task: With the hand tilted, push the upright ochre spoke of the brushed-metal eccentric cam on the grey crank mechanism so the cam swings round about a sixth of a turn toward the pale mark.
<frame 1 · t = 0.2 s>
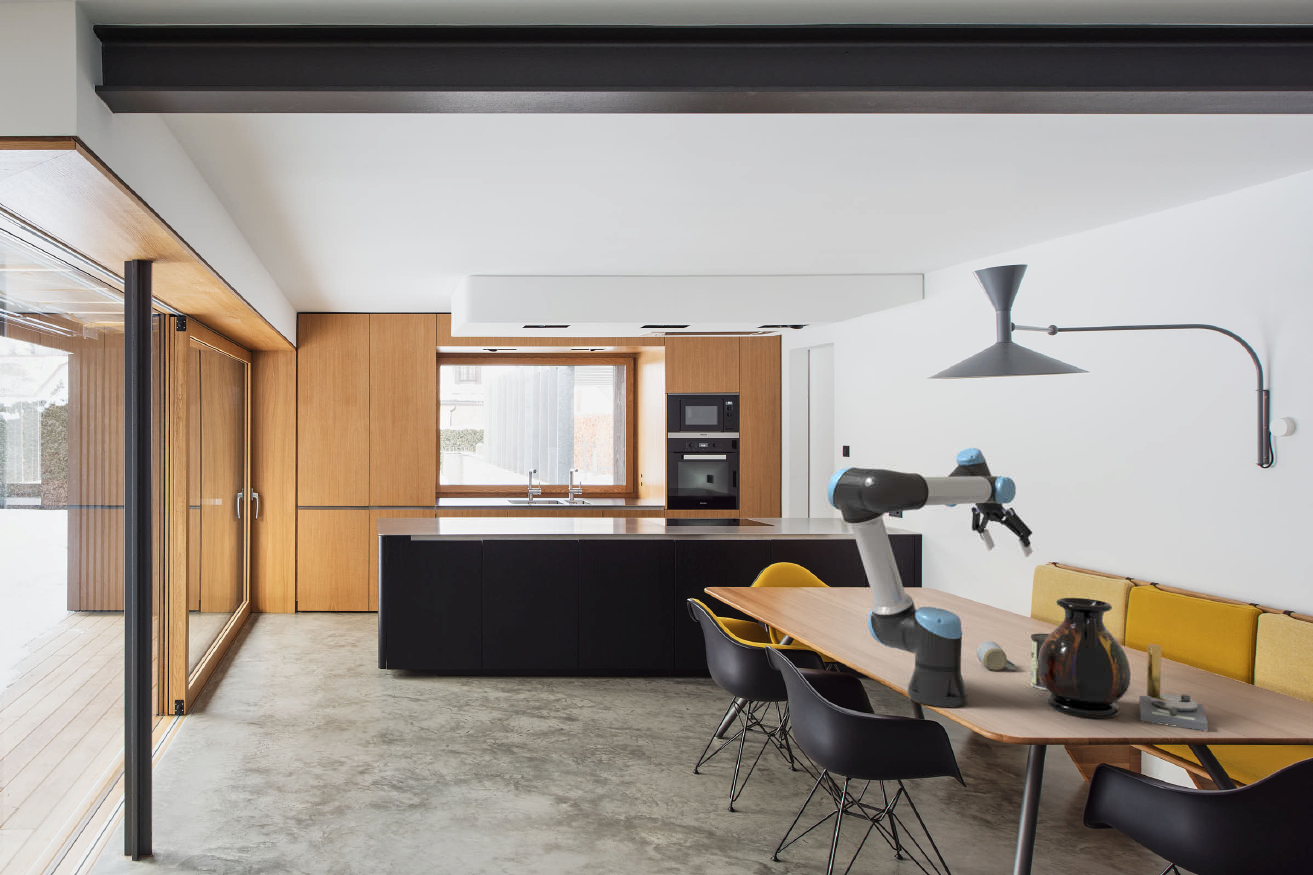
hand: (1009, 551, 257), 36 cm above the table, tool tilted 35°, fingers open, 13 cm apart
ceramic mug: (996, 669, 254), on the table
grey crank mechanism: (1171, 716, 210), on the table
coffee can: (1049, 687, 235), on the table
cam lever: (1172, 676, 213), point 10 cm above the table, hinge at 0.0°
brown glazed vase: (1082, 710, 214), on the table
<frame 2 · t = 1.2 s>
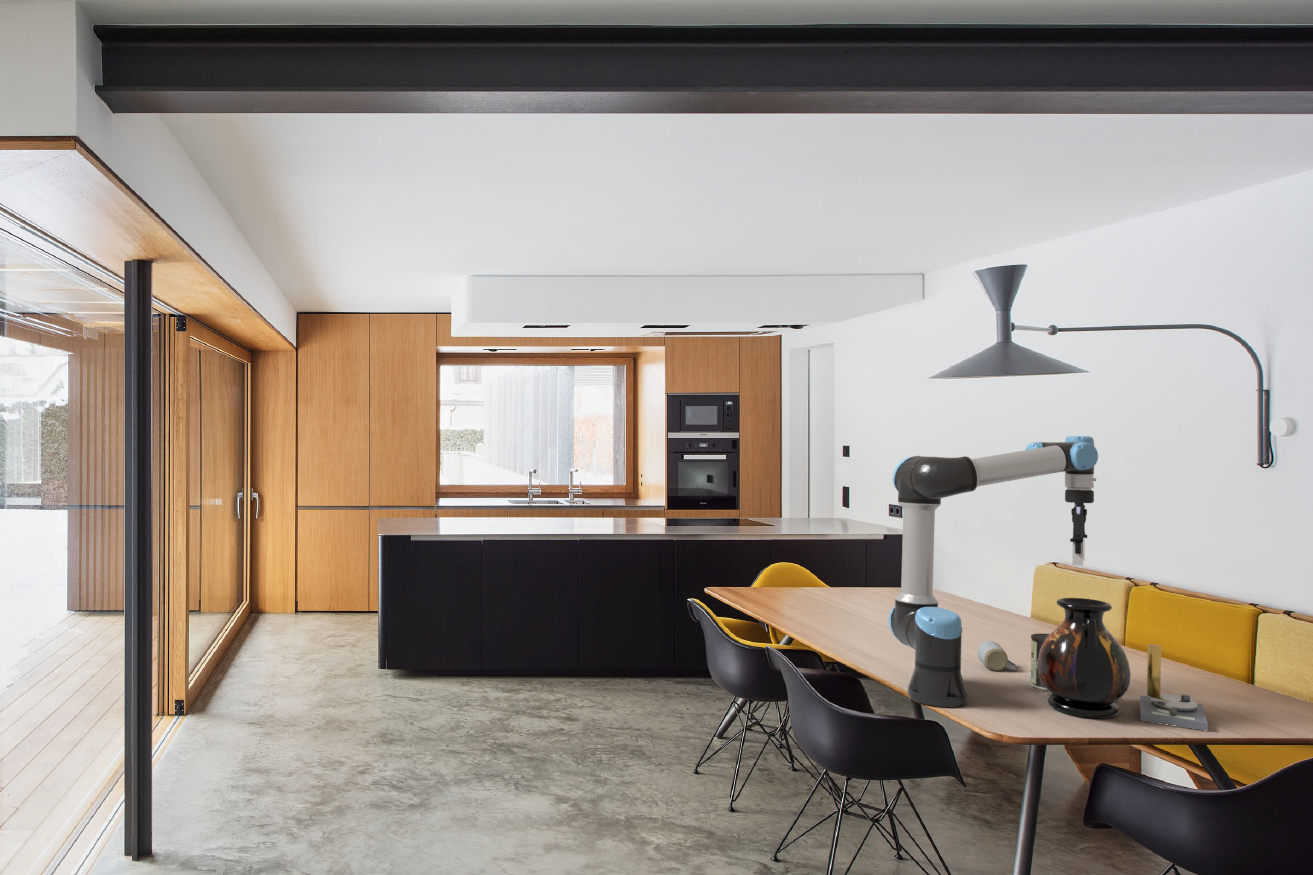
hand: (1078, 562, 241), 35 cm above the table, tool pointing down, fingers open, 12 cm apart
nothing on the table moved.
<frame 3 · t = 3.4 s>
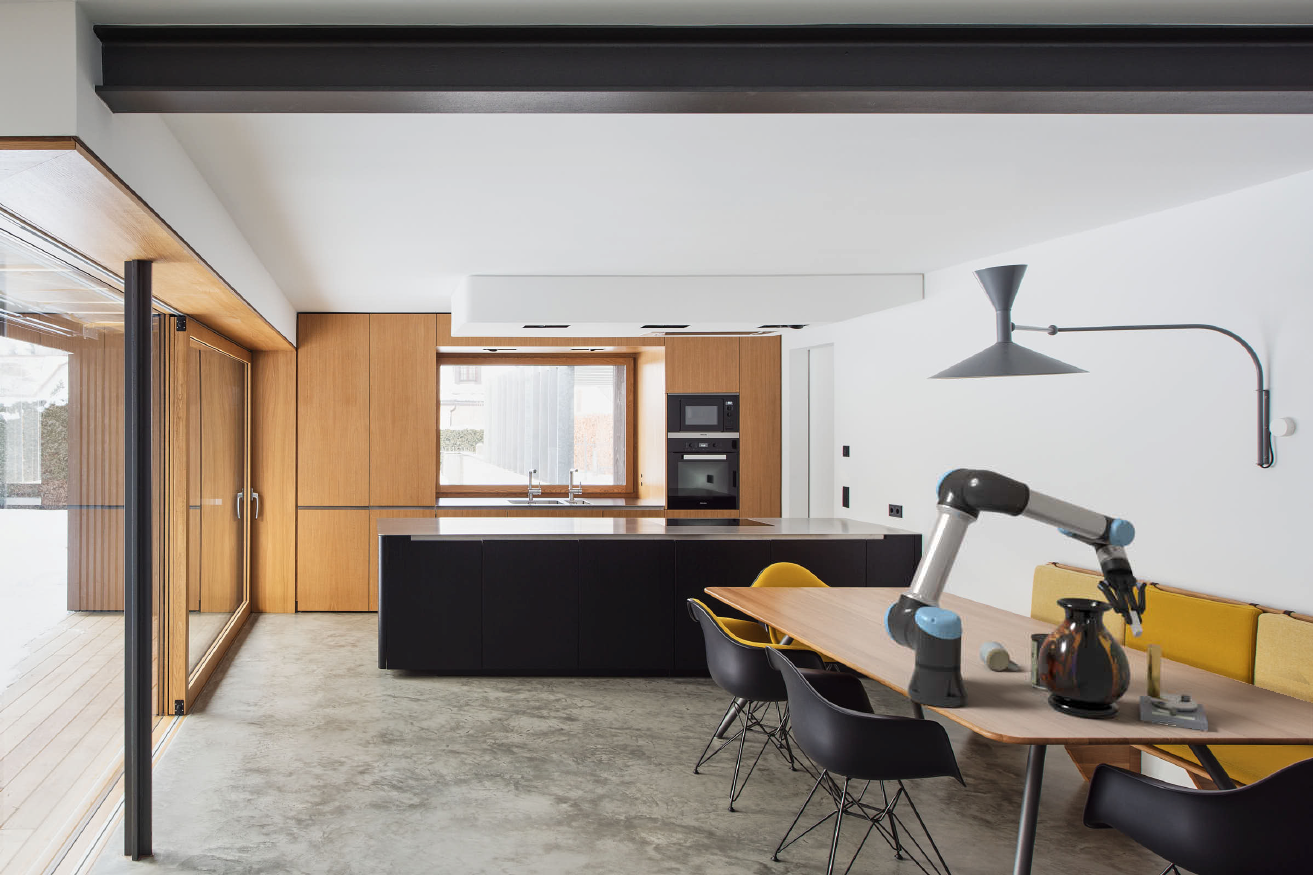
hand: (1138, 633, 225), 18 cm above the table, tool tilted 45°, fingers closed
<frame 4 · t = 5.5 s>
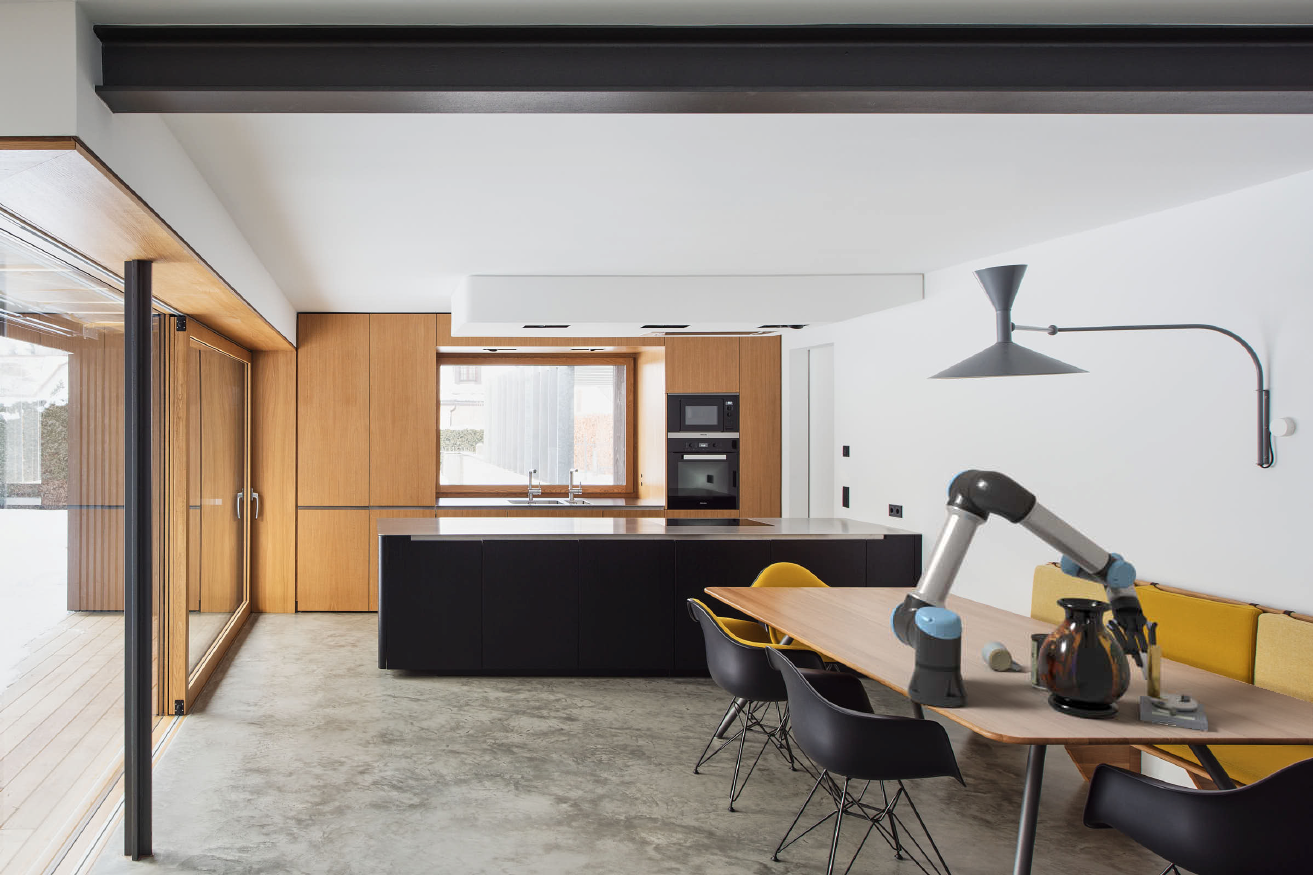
hand: (1149, 677, 217), 8 cm above the table, tool tilted 45°, fingers closed
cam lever: (1172, 676, 213), point 10 cm above the table, hinge at 0.2°, touching gripper
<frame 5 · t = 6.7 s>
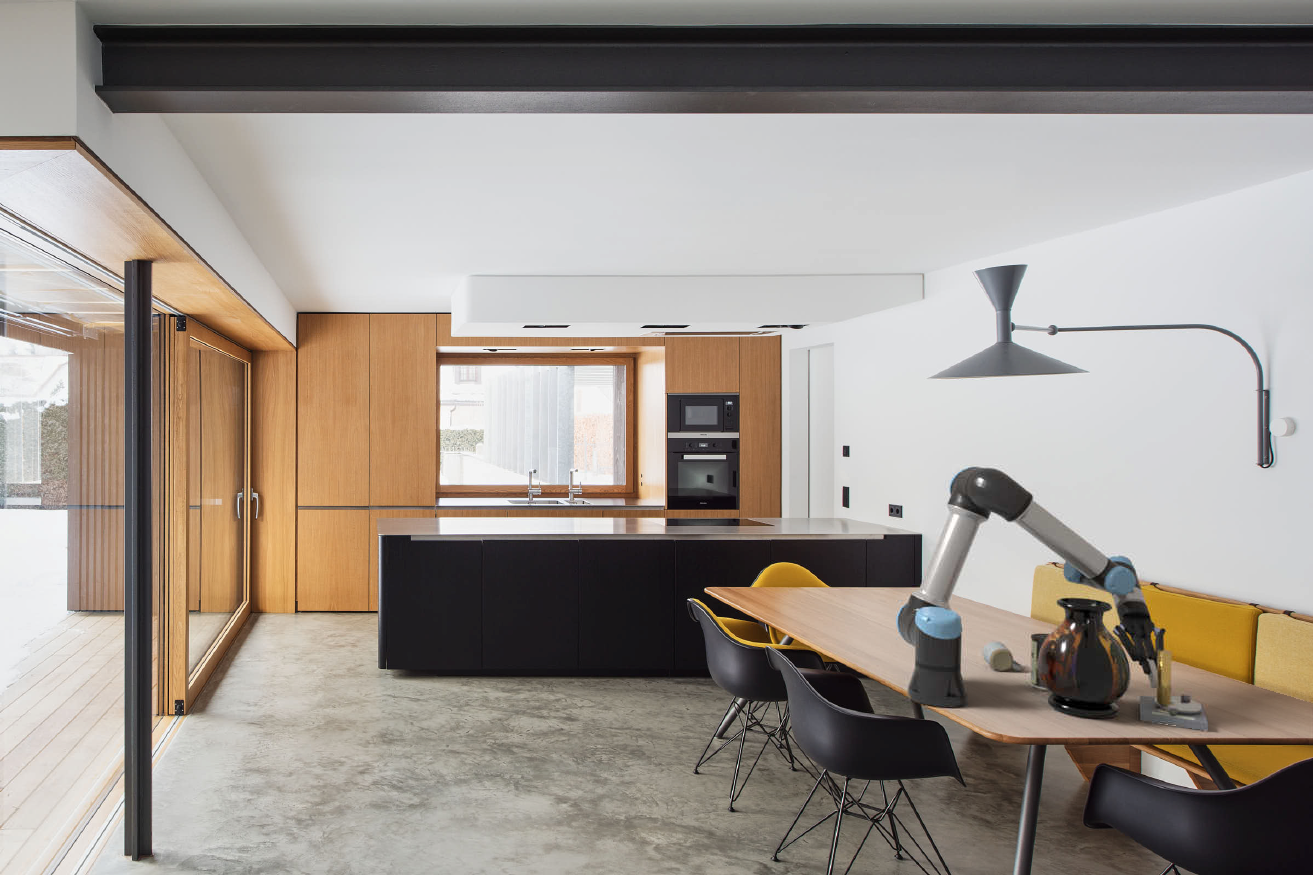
hand: (1156, 685, 212), 7 cm above the table, tool tilted 45°, fingers closed
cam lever: (1176, 679, 210), point 10 cm above the table, hinge at 49.6°, touching gripper
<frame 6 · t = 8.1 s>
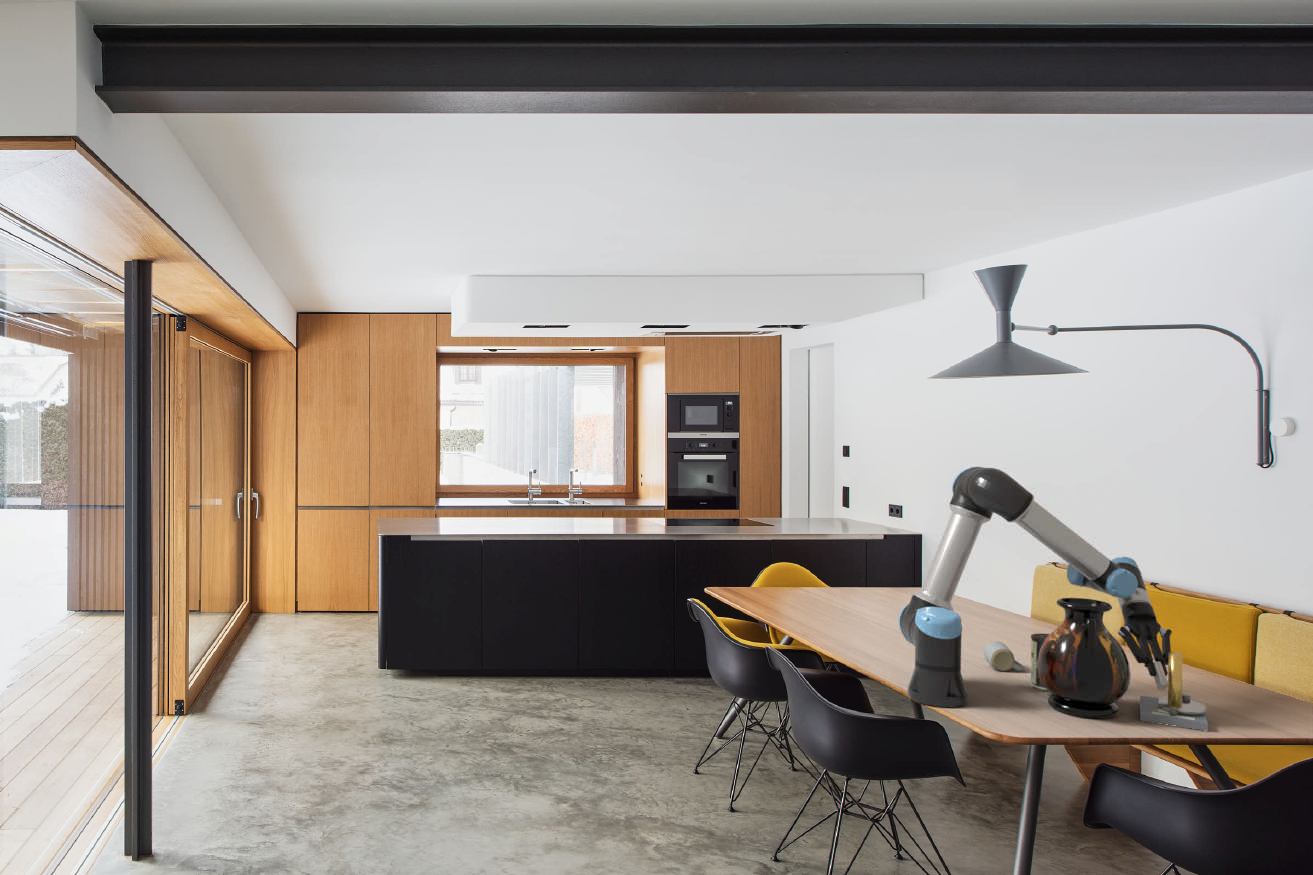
hand: (1163, 687, 209), 8 cm above the table, tool tilted 45°, fingers closed
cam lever: (1181, 680, 209), point 10 cm above the table, hinge at 72.4°
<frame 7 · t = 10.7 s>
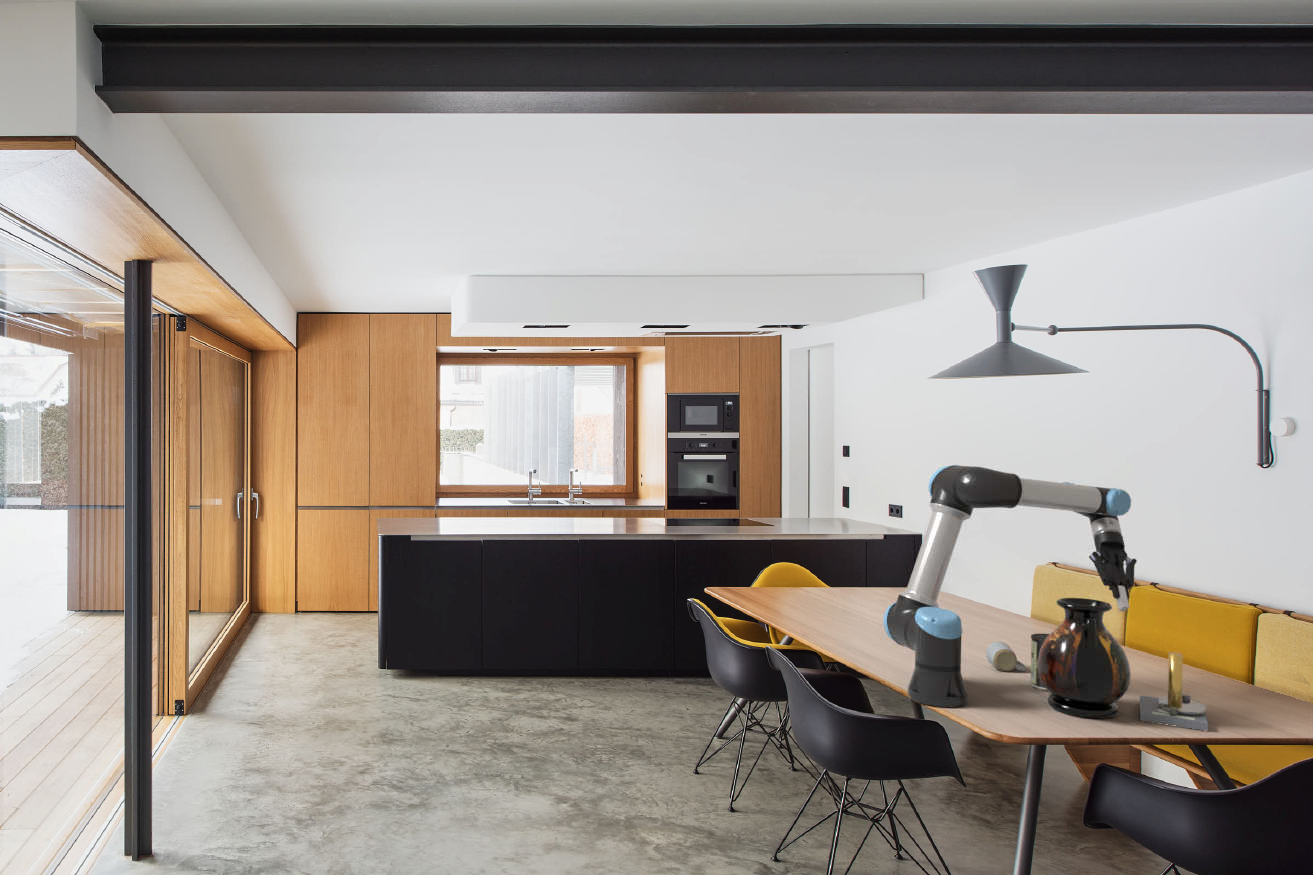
hand: (1124, 608, 228), 24 cm above the table, tool tilted 40°, fingers closed
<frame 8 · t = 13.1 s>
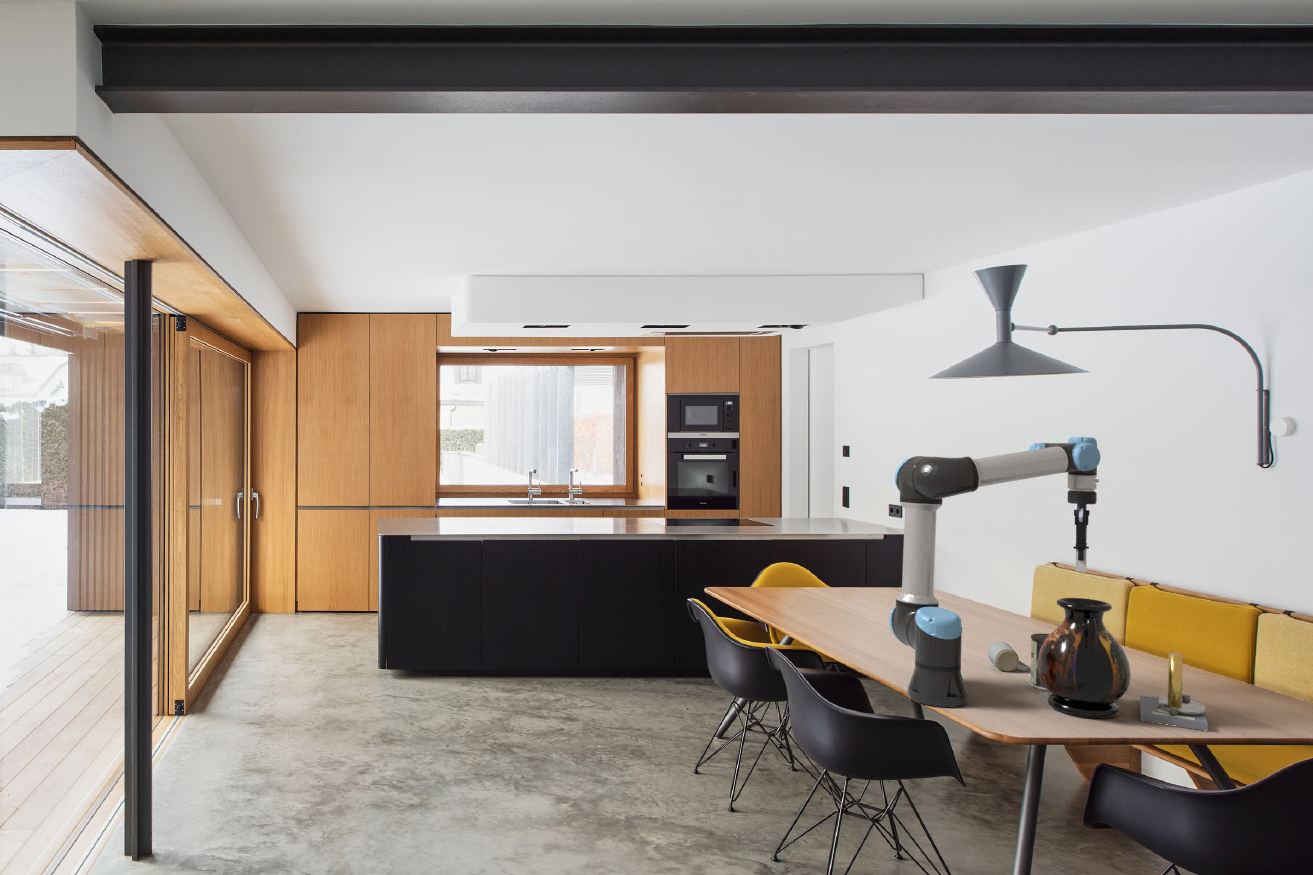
hand: (1080, 571, 240), 32 cm above the table, tool pointing down, fingers closed
at the end: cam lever at +72° (first picture: +0°) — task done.
